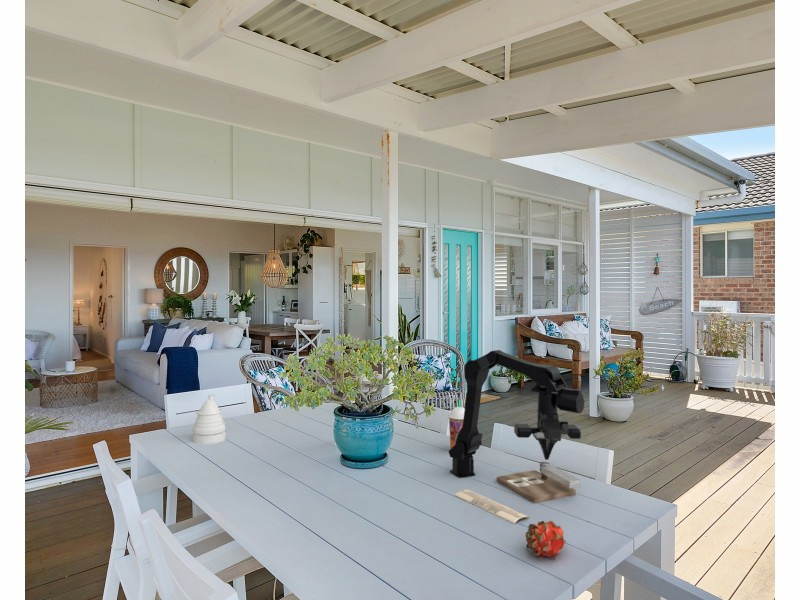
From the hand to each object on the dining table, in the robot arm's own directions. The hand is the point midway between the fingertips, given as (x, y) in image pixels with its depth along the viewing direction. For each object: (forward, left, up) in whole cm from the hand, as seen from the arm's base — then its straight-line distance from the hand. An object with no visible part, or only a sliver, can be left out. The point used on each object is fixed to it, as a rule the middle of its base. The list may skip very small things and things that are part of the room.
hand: (546, 459), depth 157 cm
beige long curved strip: (-19, +2, -13) cm, 23 cm away
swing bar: (+7, +3, -8) cm, 11 cm away
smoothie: (0, +50, -12) cm, 51 cm away
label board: (+2, +8, -12) cm, 14 cm away
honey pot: (-87, +105, -12) cm, 137 cm away
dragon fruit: (-22, -26, -12) cm, 36 cm away
